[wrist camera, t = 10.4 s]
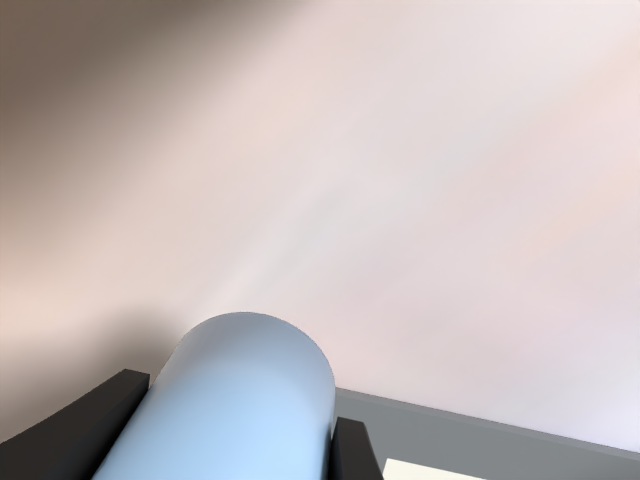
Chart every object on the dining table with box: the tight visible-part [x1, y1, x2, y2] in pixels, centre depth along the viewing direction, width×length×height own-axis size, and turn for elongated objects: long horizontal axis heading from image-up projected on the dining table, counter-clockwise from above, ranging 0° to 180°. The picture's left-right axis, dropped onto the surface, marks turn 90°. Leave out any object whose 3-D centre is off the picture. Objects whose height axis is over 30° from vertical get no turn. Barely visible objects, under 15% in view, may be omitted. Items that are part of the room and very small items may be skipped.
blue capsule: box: [91, 312, 335, 480], centre depth 11 cm, size 4×4×6 cm
